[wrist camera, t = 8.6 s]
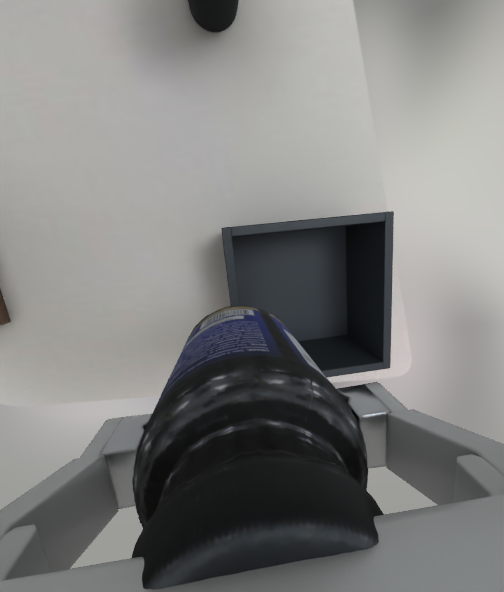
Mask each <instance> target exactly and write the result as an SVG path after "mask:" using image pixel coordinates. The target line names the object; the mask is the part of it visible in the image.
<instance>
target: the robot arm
mask: <svg viewBox="0 0 504 592" xmlns="http://www.w3.org/2000/svg"><path fill="white" fill-rule="evenodd" d="M336 390H337V391H338V392H339V394H340V395H341V396H342V397H343V399H344V400H345V401H346V403H347V404H348V406H349V408H350V409H351V411H352V413H353V415H354V416H355V417H356V418H357V421H358V424H359V426H360V429H361V431H362V433H363V438H364V442H365V445H366V451H367V463H368V464H367V466H368V468H376V467H383V466H387V468H388V469H389V470H391V471H392V472H393V473H395V474H396V475H398V476H399V477H400V478H402V479H403V480H404V481H406V482H407V483H409V484H410V485H411V486H413V487H414V488H416V489H417V490H418V491H420V492H421V493H422V494H424V495H425V496H427V497H428V498H429V499H431V500H432V501H433V502H435V503H436V504H438V505H437V506H432V507H426V508H420V509H415V510H409V511H403V512H397V513H392V514H385V515H379V516H375V517H374V524H375V527H376V530H377V532H378V539H379V542H378V544H377V545H375V546H373V547H372V548H369V549H366V550H359V551H354V552H350V553H342V554H338V555H334V556H327V557H321V558H314V559H308V560H302V561H296V562H292V563H287V564H282V565H277V566H272V567H266V568H261V569H256V570H250V571H245V572H241V573H237V574H232V575H225V576H219V577H214V578H209V579H205V580H201V581H196V582H191V583H187V584H182V585H177V586H172V587H167V588H162V589H154V590H152V589H144V588H143V584H142V573H143V569H144V558H143V557H136V558H130V559H125V560H119V561H113V562H107V563H101V564H96V565H90V566H84V567H78V568H72V569H70V567H71V566H72V565H73V564H74V563H75V561H76V560H77V559H78V558H79V557H80V556H81V554H82V553H83V552H84V551H85V550H86V549H87V547H88V546H89V545H90V544H91V543H92V542H93V540H94V539H95V538H96V537H97V536H98V534H99V533H100V532H101V531H102V530H103V529H104V527H105V526H106V525H107V524H108V523H109V521H110V520H111V519H112V518H113V517H114V515H115V514H116V513H117V512H118V509H121V508H127V507H132V506H136V504H135V501H134V492H133V484H132V479H133V475H134V470H133V468H134V463H135V459H136V454H137V451H138V446H139V443H140V441H141V438H142V435H143V433H144V431H145V429H146V426H147V424H148V422H149V419H150V417H151V415H152V414H146V415H138V416H129V417H120V418H113V419H109V420H107V421H105V423H104V424H103V426H102V427H101V429H100V430H99V431H98V433H97V434H96V436H95V437H94V439H93V440H92V441H91V443H90V444H89V446H88V447H87V448H86V450H85V451H84V453H83V454H82V455H81V457H80V458H78V459H74V460H72V461H71V462H69V463H68V464H66V465H65V466H63V467H62V468H60V469H59V470H58V471H56V472H55V473H53V474H52V475H50V476H49V477H47V478H46V479H45V480H43V481H42V482H41V483H39V484H38V485H36V486H35V487H34V488H32V489H30V490H29V491H27V492H26V493H25V494H23V495H21V496H20V497H19V498H17V499H16V500H14V501H13V502H11V503H10V504H8V505H7V506H6V507H4V508H3V509H1V510H0V592H504V444H502V443H500V442H497V441H494V440H492V439H489V438H487V437H484V436H481V435H479V434H476V433H474V432H471V431H468V430H466V429H463V428H460V427H458V426H455V425H453V424H450V423H447V422H445V421H442V420H440V419H437V418H434V417H432V416H429V415H426V414H424V413H421V412H419V411H416V410H408V409H407V408H406V407H405V406H403V404H402V403H400V402H399V401H398V400H397V399H396V398H395V397H394V396H393V395H392V394H391V393H390V392H389V391H387V390H386V389H385V388H384V387H383V386H382V385H381V384H380V383H377V382H373V383H368V384H363V385H357V386H351V387H345V388H338V389H336Z"/></svg>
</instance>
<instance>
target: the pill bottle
mask: <svg viewBox="0 0 504 592" xmlns="http://www.w3.org/2000/svg"><path fill="white" fill-rule="evenodd" d="M367 464H368V463H367V451H366V445H365V442H364V438H363V433H362V431H361V429H360V426H359V424H358V421H357V418H356V417H355V416H354V415H353V413H352V411H351V409H350V408H349V406H348V404H347V403H346V401H345V400H344V399H343V397H342V396H341V395H340V394H339V392H338V391H337V390H336V389H335V387H334V386H333V385H332V384H331V383H330V382H329V380H328V379H327V378H326V376H325V375H324V374H323V373H322V372H321V370H320V369H319V368H318V366H317V365H316V364H315V363H314V361H313V360H312V359H311V358H310V356H309V355H308V354H307V353H306V351H305V350H304V349H303V347H302V346H301V345H300V344H299V342H298V341H297V340H296V339H295V337H294V336H293V335H292V334H291V332H290V331H289V330H288V328H287V327H286V326H285V325H284V324H283V323H282V322H281V321H280V320H279V319H278V318H277V317H276V316H274V315H272V314H270V313H268V312H267V311H265V310H262V309H260V308H258V307H254V306H248V305H238V306H228V307H225V308H222V309H220V310H218V311H215V312H213V313H211V314H209V315H207V316H206V317H205V318H204V319H203V320H201V321H200V322H199V323H198V324H197V325H196V326H195V328H194V329H193V331H192V332H191V334H190V336H189V338H188V340H187V342H186V344H185V346H184V348H183V351H182V353H181V355H180V357H179V359H178V361H177V363H176V365H175V367H174V370H173V372H172V374H171V376H170V378H169V379H168V382H167V384H166V386H165V388H164V390H163V392H162V394H161V397H160V399H159V401H158V404H157V405H156V408H155V410H154V412H153V414H152V415H151V417H150V419H149V422H148V424H147V426H146V429H145V431H144V433H143V435H142V438H141V441H140V443H139V446H138V451H137V454H136V459H135V463H134V468H133V470H134V475H133V479H132V484H133V492H134V501H135V504H136V509H137V513H138V515H139V520H140V523H141V524H142V527H143V531H142V533H141V535H140V536H139V538H138V540H137V542H136V545H135V548H134V551H133V554H132V558H136V557H143V558H144V569H143V573H142V584H143V588H144V589H152V590H154V589H162V588H167V587H172V586H177V585H182V584H187V583H191V582H196V581H201V580H205V579H209V578H214V577H219V576H225V575H232V574H237V573H241V572H245V571H250V570H256V569H261V568H266V567H272V566H277V565H282V564H287V563H292V562H296V561H302V560H308V559H314V558H321V557H327V556H334V555H338V554H342V553H350V552H354V551H359V550H366V549H369V548H372V547H373V546H375V545H377V544H378V542H379V539H378V532H377V530H376V527H375V524H374V517H375V516H379V515H384V514H383V513H382V511H381V510H380V508H379V507H378V505H377V503H376V501H375V500H374V499H373V497H372V496H371V495H370V494H369V493H368V492H367V491H366V488H367V476H368V466H367Z"/></svg>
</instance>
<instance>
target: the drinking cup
mask: <svg viewBox="0 0 504 592" xmlns="http://www.w3.org/2000/svg"><path fill="white" fill-rule="evenodd" d="M188 3H189V7H190V10H191V13H192V15H193V17H194V19H195V20H196V22H197V23H198V24H199V25H200V26H201V27H203V28H204V29H206V30H208V31H212V32H219V31H222V30H225V29H226V28H228V27H229V26H230V25H231V24H232V22H233V21H234V19H235V16H236V12H237V6H238V0H188Z"/></svg>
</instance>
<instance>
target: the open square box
mask: <svg viewBox="0 0 504 592" xmlns="http://www.w3.org/2000/svg"><path fill="white" fill-rule="evenodd" d="M393 215H394V213H393V212H382V213H372V214H361V215H351V216H341V217H330V218H320V219H310V220H299V221H289V222H279V223H268V224H258V225H248V226H237V227H227V228H222V237H223V245H224V253H225V262H226V270H227V278H228V287H229V295H230V303H231V306H238V305H248V306H254V307H258V308H260V309H262V310H265V311H267V312H268V313H270V314H272V315H274V316H276V317H277V318H278V319H279V320H280V321H281V322H282V323H283V324H284V325H285V326H286V327H287V328H288V330H289V331H290V332H291V334H292V335H293V336H294V337H295V339H296V340H297V341H298V342H299V344H300V345H301V346H302V347H303V349H304V350H305V351H306V353H307V354H308V355H309V356H310V358H311V359H312V360H313V361H314V363H315V364H316V365H317V366H318V368H319V369H320V370H321V372H322V373H323V374H324V375H325V376H326V377H332V376H339V375H346V374H353V373H360V372H366V371H373V370H380V369H387V368H390V352H391V306H392V261H393Z"/></svg>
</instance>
